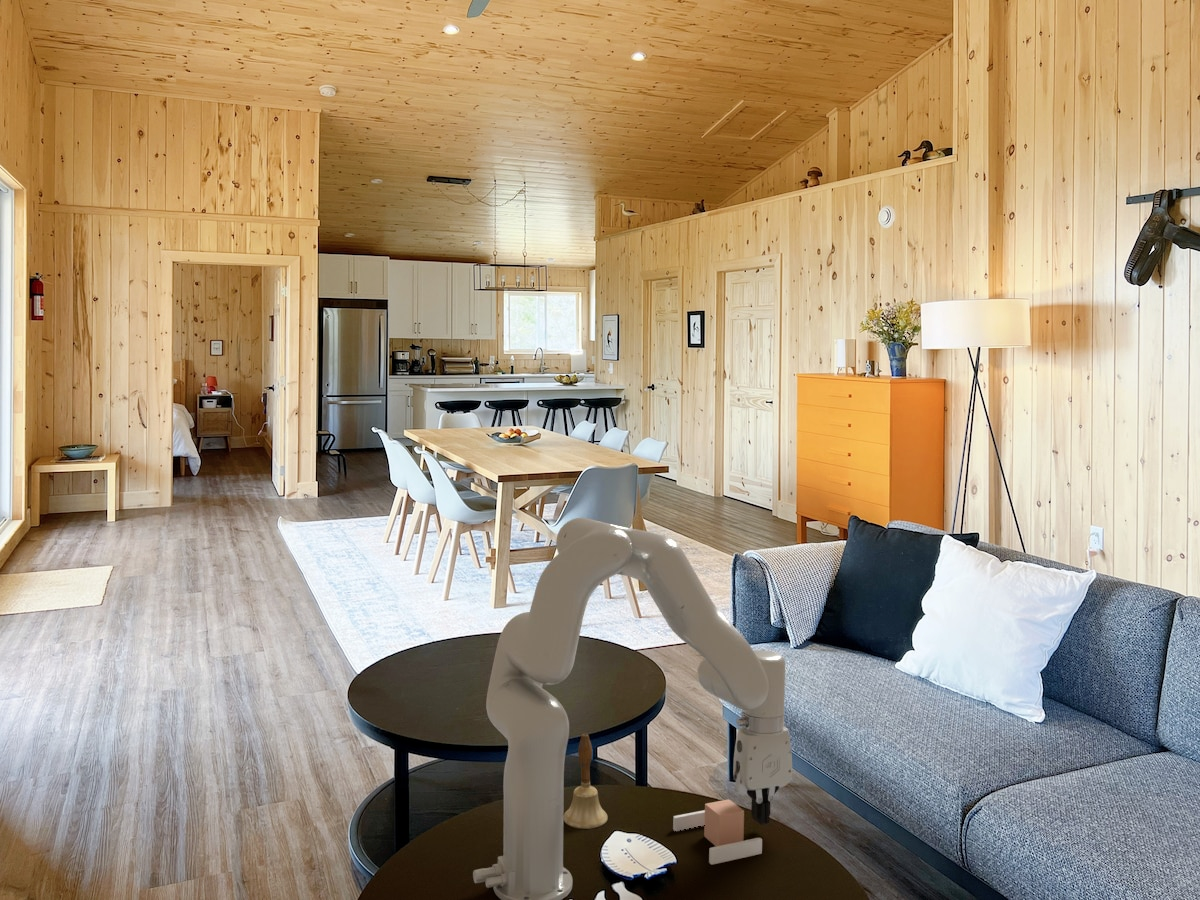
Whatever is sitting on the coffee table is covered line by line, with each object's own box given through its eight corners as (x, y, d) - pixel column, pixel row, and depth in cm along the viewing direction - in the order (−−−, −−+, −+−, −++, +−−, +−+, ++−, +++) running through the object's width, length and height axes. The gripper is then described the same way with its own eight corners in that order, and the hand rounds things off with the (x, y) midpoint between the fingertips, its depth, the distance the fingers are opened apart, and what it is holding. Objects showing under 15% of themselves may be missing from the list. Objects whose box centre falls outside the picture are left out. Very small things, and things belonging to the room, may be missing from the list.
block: (718, 849, 159) (719, 815, 159) (704, 836, 164) (704, 803, 164) (743, 843, 161) (744, 810, 161) (728, 831, 166) (728, 799, 166)
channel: (711, 864, 154) (711, 850, 154) (673, 829, 166) (673, 816, 166) (761, 853, 158) (762, 839, 158) (720, 820, 170) (721, 806, 170)
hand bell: (595, 832, 165) (596, 745, 164) (555, 823, 169) (555, 737, 168) (614, 814, 172) (616, 730, 172) (575, 805, 176) (576, 723, 175)
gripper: (738, 734, 158) (736, 837, 159) (809, 722, 164) (807, 822, 165) (715, 719, 165) (714, 819, 166) (785, 709, 171) (783, 805, 172)
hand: (760, 820), depth 166 cm, fingers closed
